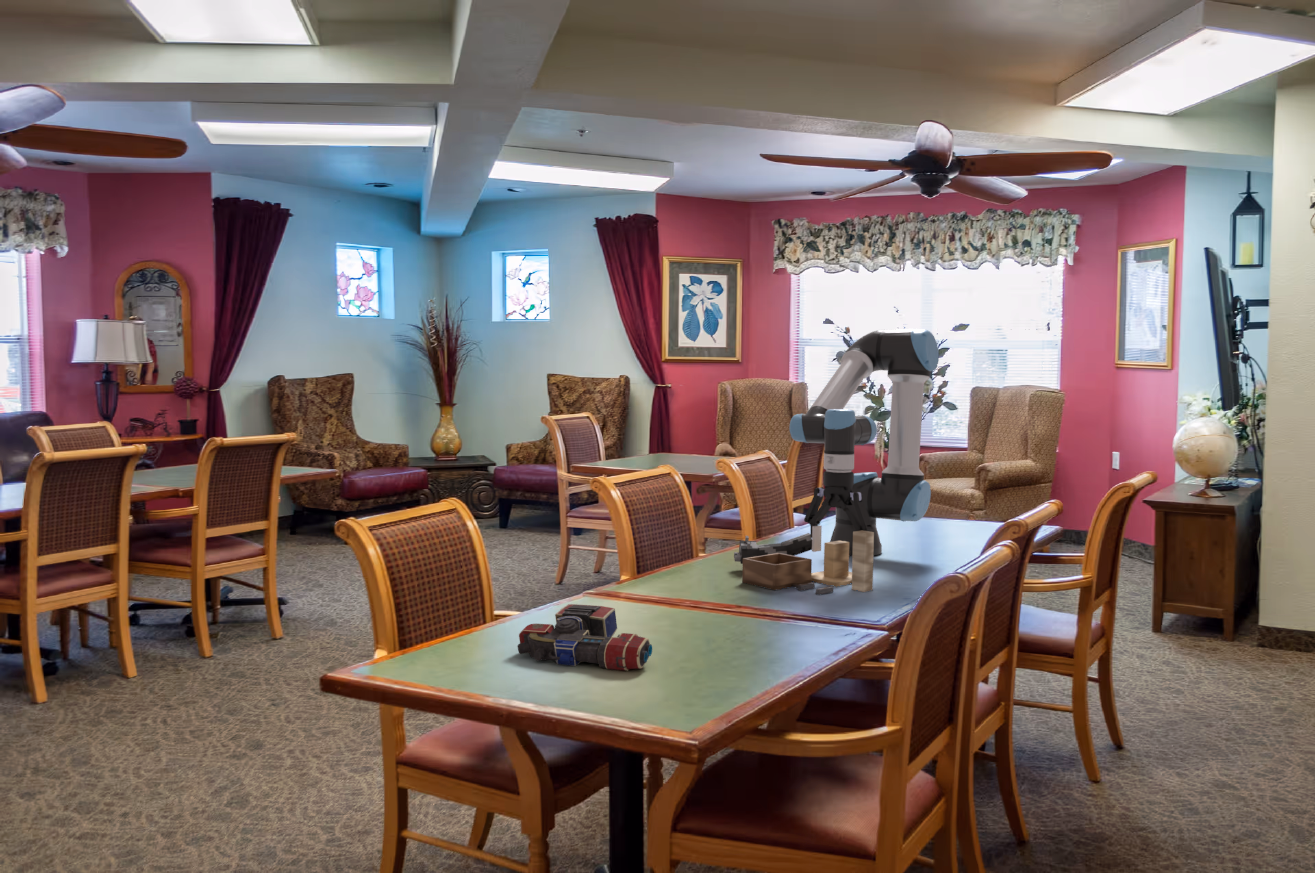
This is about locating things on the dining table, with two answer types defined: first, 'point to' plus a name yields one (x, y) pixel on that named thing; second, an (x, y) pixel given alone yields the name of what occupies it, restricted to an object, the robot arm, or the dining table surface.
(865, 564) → the tan block
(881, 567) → the dining table surface
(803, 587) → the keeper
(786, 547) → the toy
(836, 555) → the lid
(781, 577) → the open wooden box
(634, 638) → the multicoloured piece
